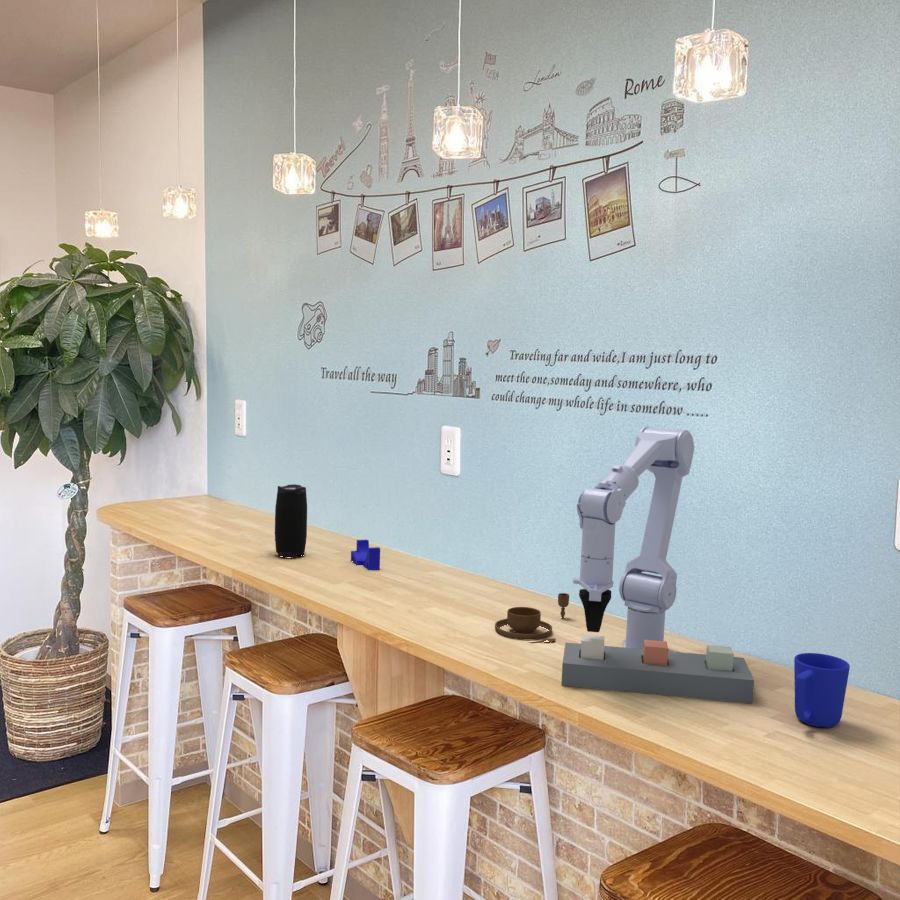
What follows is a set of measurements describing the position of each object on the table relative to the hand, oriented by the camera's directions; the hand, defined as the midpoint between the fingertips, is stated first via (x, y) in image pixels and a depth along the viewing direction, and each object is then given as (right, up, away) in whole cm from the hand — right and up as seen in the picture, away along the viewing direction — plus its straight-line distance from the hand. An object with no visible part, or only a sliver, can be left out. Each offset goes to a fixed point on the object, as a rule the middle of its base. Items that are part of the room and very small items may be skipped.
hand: (593, 630), depth 162 cm
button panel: (+11, -9, -1) cm, 14 cm away
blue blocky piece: (-48, +1, +82) cm, 95 cm away
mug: (+32, -12, -18) cm, 38 cm away
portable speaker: (-70, +3, +90) cm, 114 cm away
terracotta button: (+11, -6, -1) cm, 12 cm away
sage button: (+21, -7, -3) cm, 23 cm away
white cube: (0, -5, +1) cm, 5 cm away
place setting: (-7, -6, +29) cm, 30 cm away
